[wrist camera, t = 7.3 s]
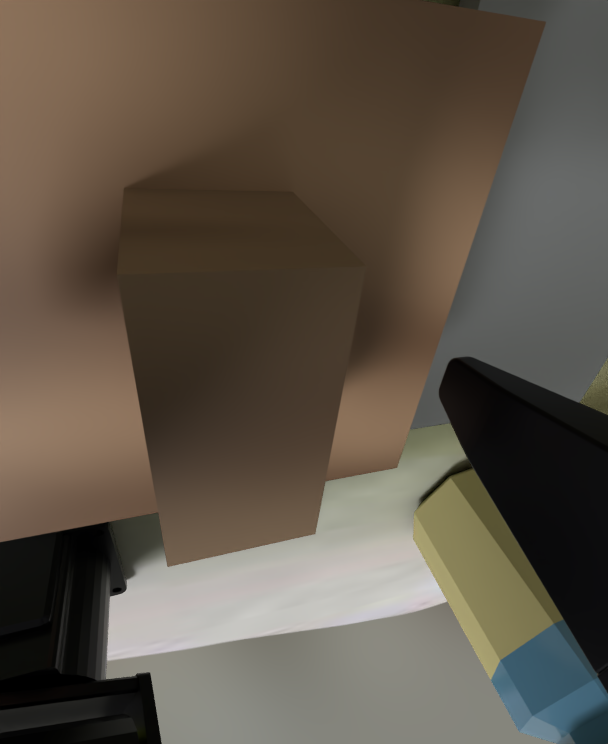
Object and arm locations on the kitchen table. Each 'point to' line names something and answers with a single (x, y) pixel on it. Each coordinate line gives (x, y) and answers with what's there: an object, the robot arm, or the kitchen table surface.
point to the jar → (509, 615)
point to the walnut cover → (231, 249)
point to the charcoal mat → (541, 220)
